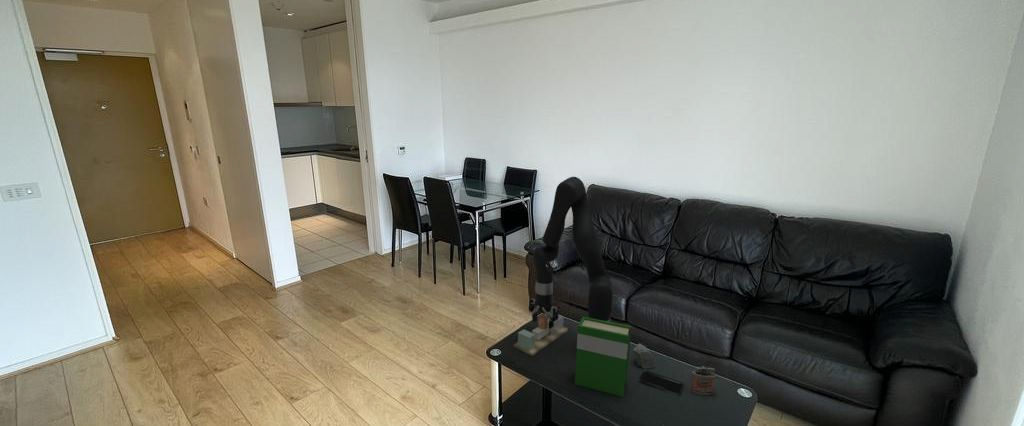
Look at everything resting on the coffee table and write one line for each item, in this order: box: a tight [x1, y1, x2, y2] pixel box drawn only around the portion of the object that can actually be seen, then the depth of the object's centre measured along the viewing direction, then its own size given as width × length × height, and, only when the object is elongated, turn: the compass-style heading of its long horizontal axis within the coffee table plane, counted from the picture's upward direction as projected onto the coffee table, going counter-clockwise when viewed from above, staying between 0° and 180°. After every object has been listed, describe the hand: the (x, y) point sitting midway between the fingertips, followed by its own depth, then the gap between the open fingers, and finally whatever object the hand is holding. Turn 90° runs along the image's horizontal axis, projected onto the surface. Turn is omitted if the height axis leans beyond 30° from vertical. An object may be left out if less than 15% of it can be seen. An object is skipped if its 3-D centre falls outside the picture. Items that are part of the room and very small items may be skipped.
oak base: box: [513, 326, 569, 357], centre depth 187 cm, size 27×10×1 cm, turn 140°
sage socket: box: [517, 329, 535, 351], centre depth 178 cm, size 4×6×6 cm, turn 50°
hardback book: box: [574, 316, 632, 398], centre depth 154 cm, size 18×7×24 cm, turn 67°
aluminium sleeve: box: [548, 313, 565, 336], centre depth 193 cm, size 10×5×5 cm, turn 140°
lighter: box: [689, 365, 717, 396], centre depth 153 cm, size 8×3×10 cm, turn 81°
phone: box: [638, 370, 685, 397], centre depth 158 cm, size 8×1×15 cm
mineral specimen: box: [632, 343, 655, 370], centre depth 168 cm, size 7×9×8 cm
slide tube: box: [531, 313, 550, 340], centre depth 189 cm, size 17×4×8 cm, turn 140°
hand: (542, 324), depth 186 cm, fingers open, 8 cm apart
